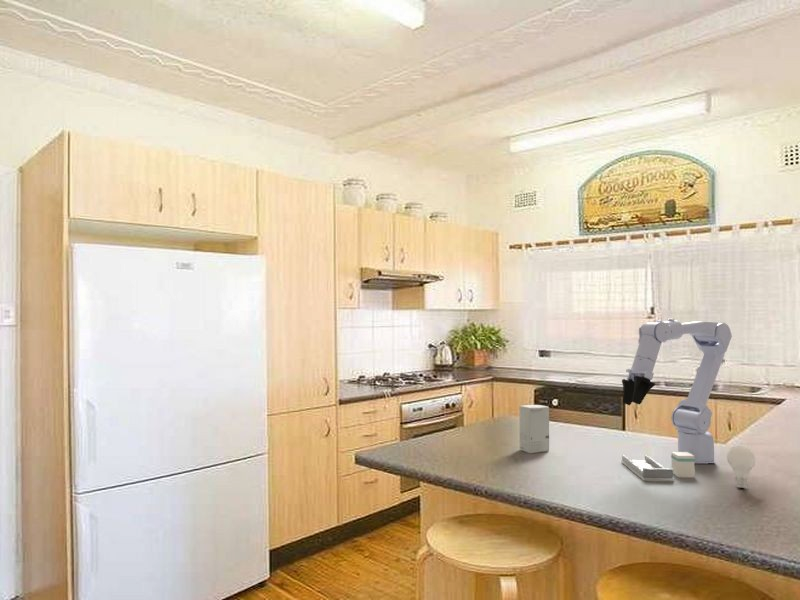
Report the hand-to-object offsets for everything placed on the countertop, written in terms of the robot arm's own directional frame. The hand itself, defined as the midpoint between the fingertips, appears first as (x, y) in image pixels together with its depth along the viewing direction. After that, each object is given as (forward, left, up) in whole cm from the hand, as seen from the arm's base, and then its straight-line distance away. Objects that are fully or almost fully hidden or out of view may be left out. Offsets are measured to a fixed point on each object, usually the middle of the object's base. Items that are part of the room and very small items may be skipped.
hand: (631, 403), depth 159 cm
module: (-13, +3, -20) cm, 24 cm away
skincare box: (+24, -22, -20) cm, 38 cm away
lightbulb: (-23, +14, -20) cm, 33 cm away
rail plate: (-4, 0, -20) cm, 20 cm away
